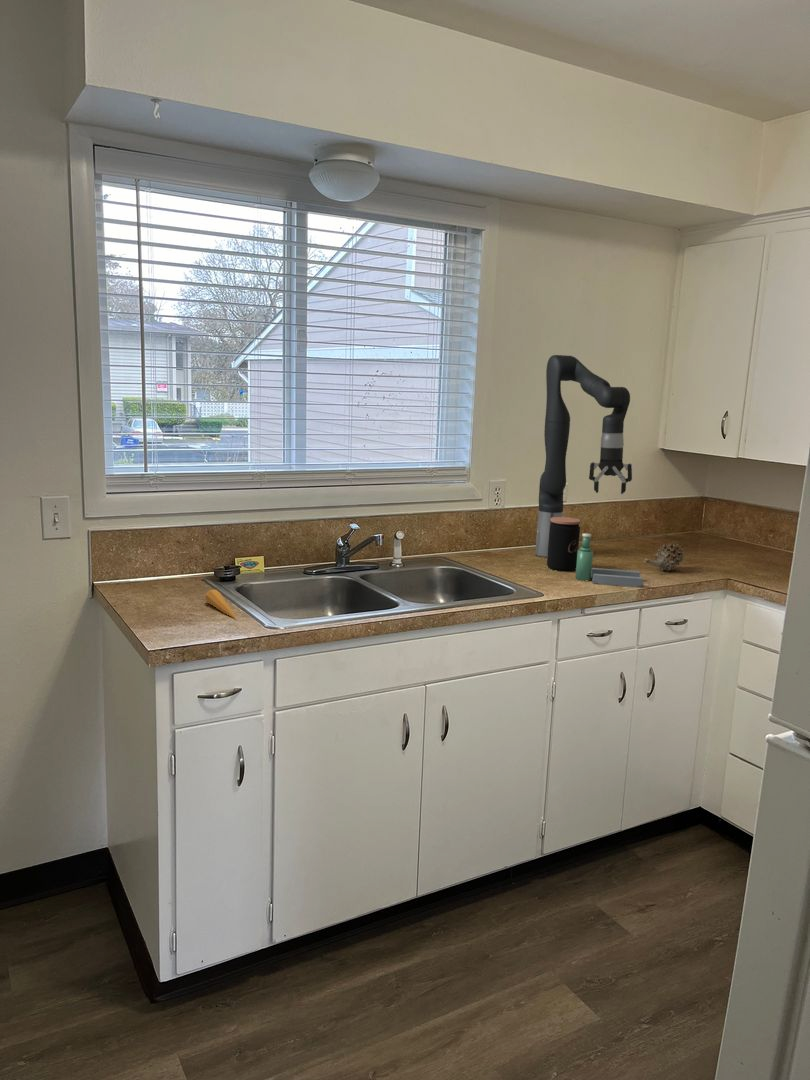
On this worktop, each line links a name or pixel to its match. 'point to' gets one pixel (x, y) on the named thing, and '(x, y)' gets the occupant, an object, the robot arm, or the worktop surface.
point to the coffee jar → (563, 543)
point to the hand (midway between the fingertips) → (609, 493)
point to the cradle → (617, 577)
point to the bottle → (584, 559)
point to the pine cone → (667, 557)
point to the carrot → (219, 602)
